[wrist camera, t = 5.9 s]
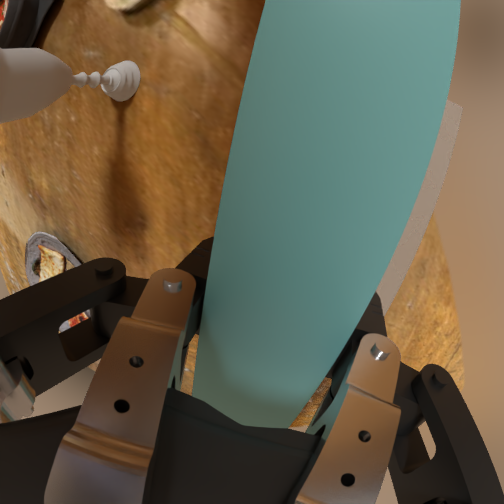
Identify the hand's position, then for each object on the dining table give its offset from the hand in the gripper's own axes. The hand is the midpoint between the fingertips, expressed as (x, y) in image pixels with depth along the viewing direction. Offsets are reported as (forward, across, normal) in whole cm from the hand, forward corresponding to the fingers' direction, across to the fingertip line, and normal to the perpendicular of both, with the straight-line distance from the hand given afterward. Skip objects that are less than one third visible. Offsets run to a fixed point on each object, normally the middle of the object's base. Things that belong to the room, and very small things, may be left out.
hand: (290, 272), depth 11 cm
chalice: (+18, +23, -7) cm, 30 cm away
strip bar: (+1, 0, 0) cm, 1 cm away
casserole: (+18, +52, -19) cm, 58 cm away
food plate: (+18, +36, +30) cm, 50 cm away
